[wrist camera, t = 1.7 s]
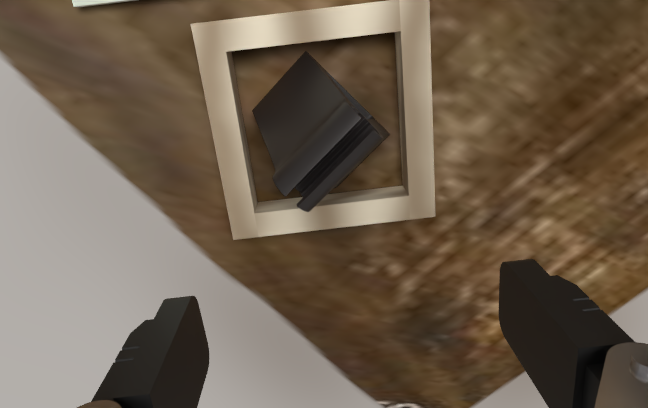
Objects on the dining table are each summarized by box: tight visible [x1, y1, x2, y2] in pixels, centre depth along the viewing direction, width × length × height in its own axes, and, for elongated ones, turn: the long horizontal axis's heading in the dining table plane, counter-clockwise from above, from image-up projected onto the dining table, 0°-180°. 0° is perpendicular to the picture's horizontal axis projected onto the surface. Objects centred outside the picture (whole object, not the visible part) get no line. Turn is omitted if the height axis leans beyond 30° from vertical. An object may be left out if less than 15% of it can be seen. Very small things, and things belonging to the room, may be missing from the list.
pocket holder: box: [191, 0, 435, 240], centre depth 35 cm, size 16×16×2 cm
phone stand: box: [252, 51, 390, 212], centre depth 31 cm, size 9×6×12 cm, turn 46°
